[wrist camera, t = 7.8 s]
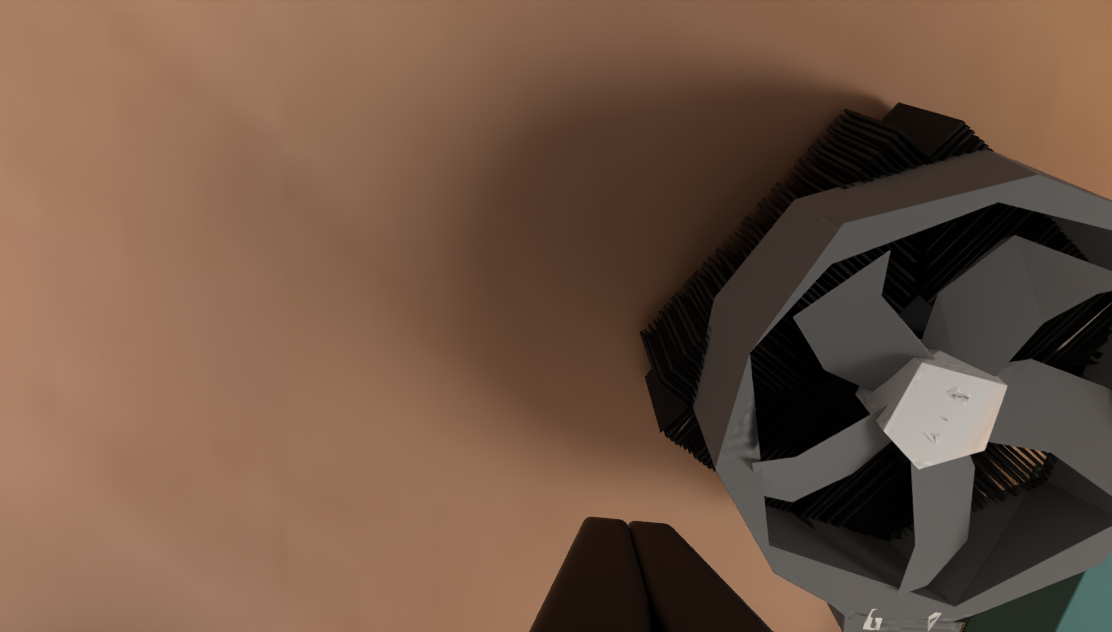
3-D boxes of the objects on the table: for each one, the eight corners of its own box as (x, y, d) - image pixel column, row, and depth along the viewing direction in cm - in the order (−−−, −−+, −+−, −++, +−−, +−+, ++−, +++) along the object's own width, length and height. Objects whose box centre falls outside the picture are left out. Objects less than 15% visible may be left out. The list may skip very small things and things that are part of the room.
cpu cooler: (1011, 57, 14) (1330, 394, 16) (874, 40, 19) (1131, 296, 21) (608, 475, 16) (937, 706, 19) (588, 357, 22) (846, 550, 24)
